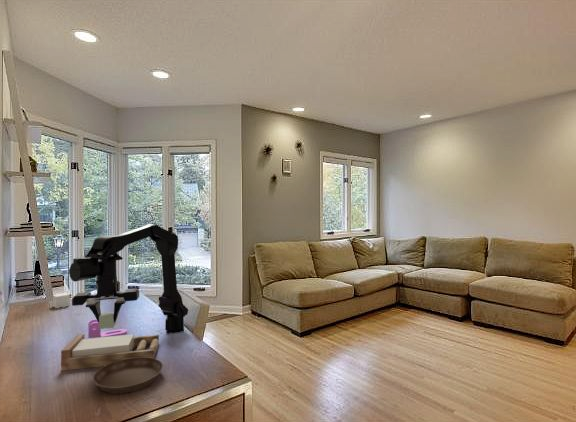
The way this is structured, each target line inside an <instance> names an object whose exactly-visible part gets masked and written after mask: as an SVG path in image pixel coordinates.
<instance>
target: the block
mask: <svg viewBox="0 0 576 422" xmlns="http://www.w3.org/2000/svg"><path fill="white" fill-rule="evenodd" d="M116 323H117V321H116V322H115V323H114V311H108V312H101V315H100V316H99V329H101V330H102V329H103V330H105V329H113V328H114V327H115V325H116Z"/></svg>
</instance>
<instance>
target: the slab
mask: <svg viewBox="0 0 576 422" xmlns="http://www.w3.org/2000/svg"><path fill="white" fill-rule="evenodd" d="M134 337H135V334H134V333H132V334H126V335H120V336H110V337H100V338H89V339H88V338H84V339H82V340H81V341H80V342H79V343H78V345H77V346H76V347H75V348H74V349H73V350H72V358H73V357H83V356H92V355H102V354H112V353H121V352H129V351H130V349H131V346H132V344H133V342H134Z"/></svg>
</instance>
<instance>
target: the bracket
mask: <svg viewBox="0 0 576 422" xmlns="http://www.w3.org/2000/svg"><path fill="white" fill-rule="evenodd" d="M87 327H88V328H87V329H88V330H87V331H88V332H87V333H88V335H87V336H88V337H87V339H89V338H100V337H110V336H120V335H128V329H126V328H119V329H113V330H107V331H102V329H99V323H98V321H97V319H96V318H93V319H91V320H90V321H89V322H88V325H87Z"/></svg>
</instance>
